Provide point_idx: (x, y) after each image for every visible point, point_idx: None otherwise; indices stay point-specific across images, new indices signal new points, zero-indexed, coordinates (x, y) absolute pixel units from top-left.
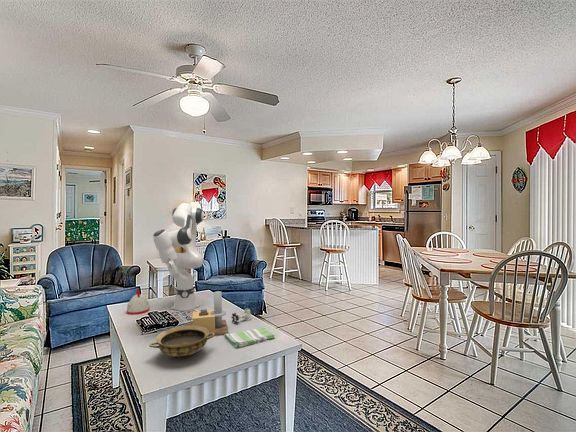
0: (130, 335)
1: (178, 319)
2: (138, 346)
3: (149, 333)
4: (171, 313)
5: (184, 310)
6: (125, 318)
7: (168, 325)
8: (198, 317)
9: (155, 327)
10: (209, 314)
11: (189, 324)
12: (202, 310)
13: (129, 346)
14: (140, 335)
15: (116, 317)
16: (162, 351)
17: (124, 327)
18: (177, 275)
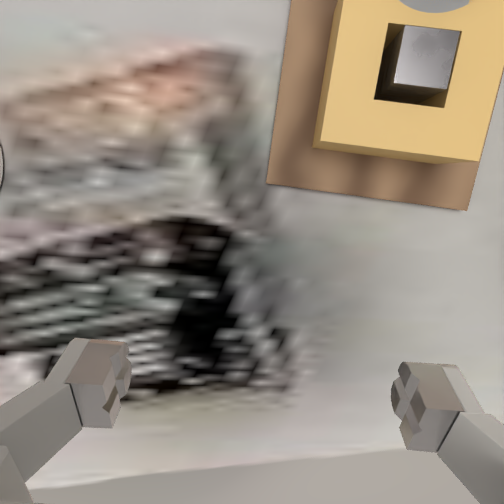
0: (276, 432)
1: (142, 215)
2: None
3: (289, 360)
4: (26, 244)
5: (2, 168)
6: None
7: (216, 272)
8: (476, 117)
9: (219, 332)
10: (452, 21)
11: (290, 168)
12: (418, 68)
13: None
14: (296, 396)
15: None
16: None
17: (161, 454)
18: (117, 370)
